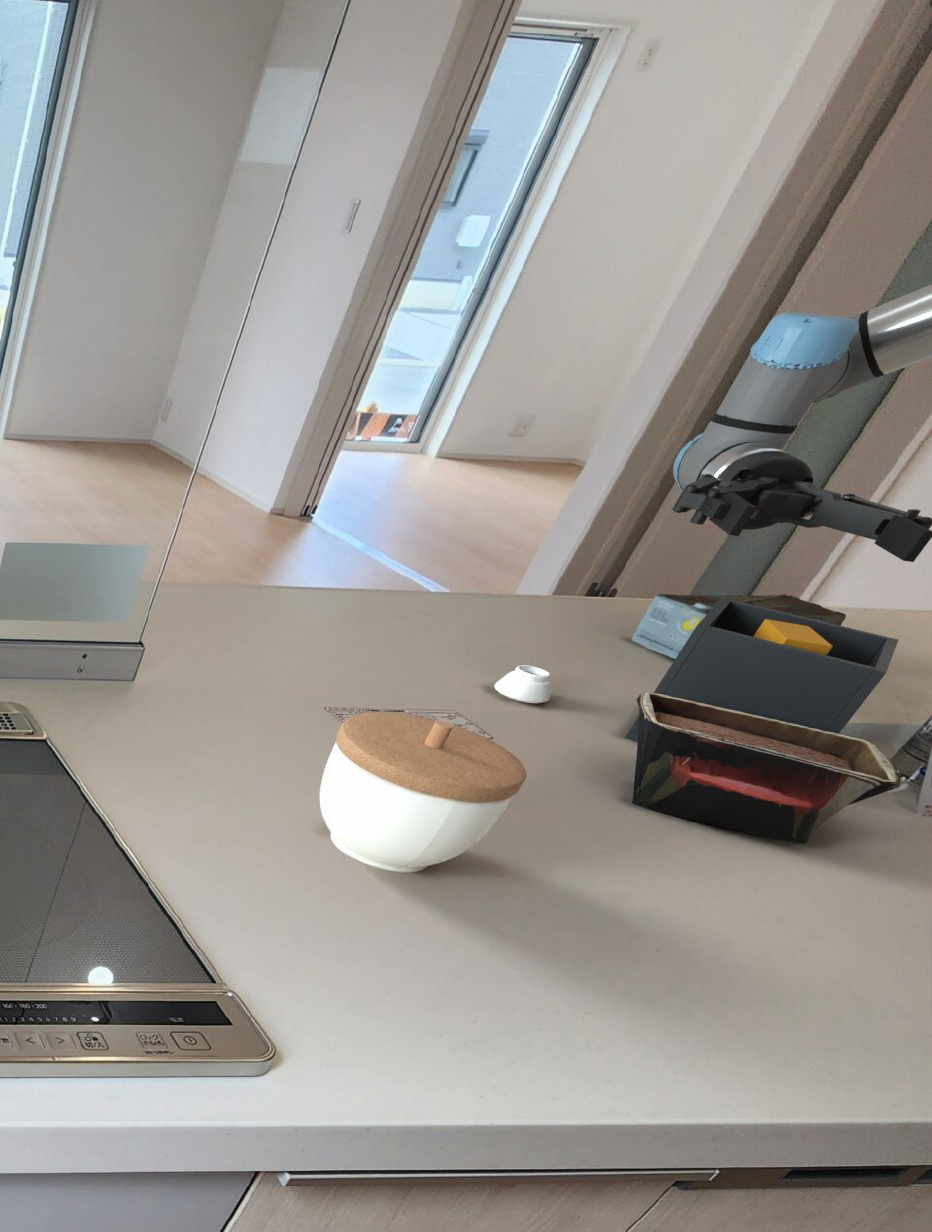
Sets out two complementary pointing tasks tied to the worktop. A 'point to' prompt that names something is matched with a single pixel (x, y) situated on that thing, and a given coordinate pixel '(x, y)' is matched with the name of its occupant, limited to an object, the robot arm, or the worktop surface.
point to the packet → (793, 636)
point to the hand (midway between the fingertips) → (829, 534)
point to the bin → (776, 669)
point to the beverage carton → (682, 613)
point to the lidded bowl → (413, 790)
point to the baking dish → (750, 769)
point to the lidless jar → (526, 685)
